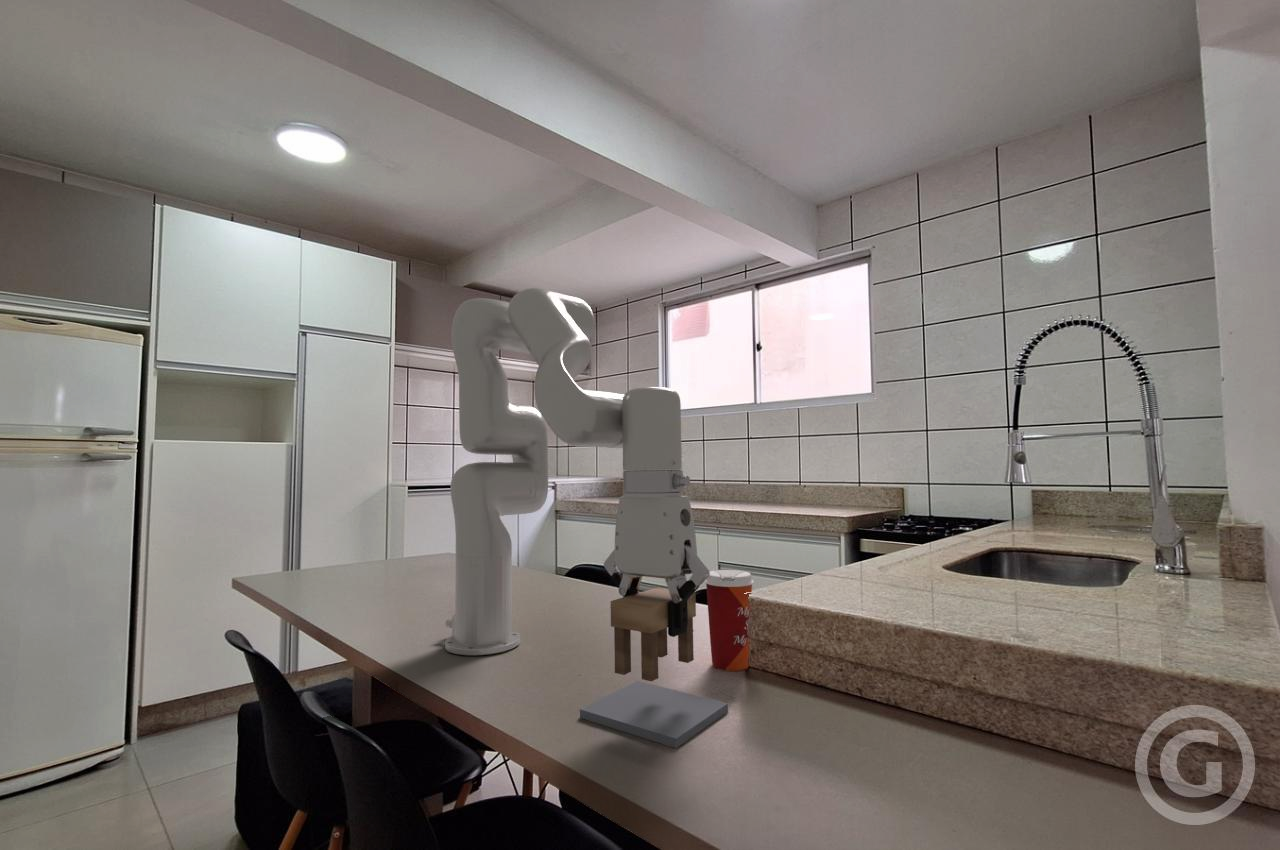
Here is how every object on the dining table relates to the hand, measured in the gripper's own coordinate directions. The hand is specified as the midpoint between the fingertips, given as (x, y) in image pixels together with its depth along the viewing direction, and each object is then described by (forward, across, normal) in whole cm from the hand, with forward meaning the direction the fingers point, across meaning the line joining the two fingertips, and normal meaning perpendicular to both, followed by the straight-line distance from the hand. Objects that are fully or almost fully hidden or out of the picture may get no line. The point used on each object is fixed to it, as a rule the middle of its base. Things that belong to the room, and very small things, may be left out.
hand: (654, 628), depth 75 cm
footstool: (+5, 0, 0) cm, 5 cm away
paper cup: (+11, +1, -22) cm, 24 cm away
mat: (+10, 0, 0) cm, 10 cm away
